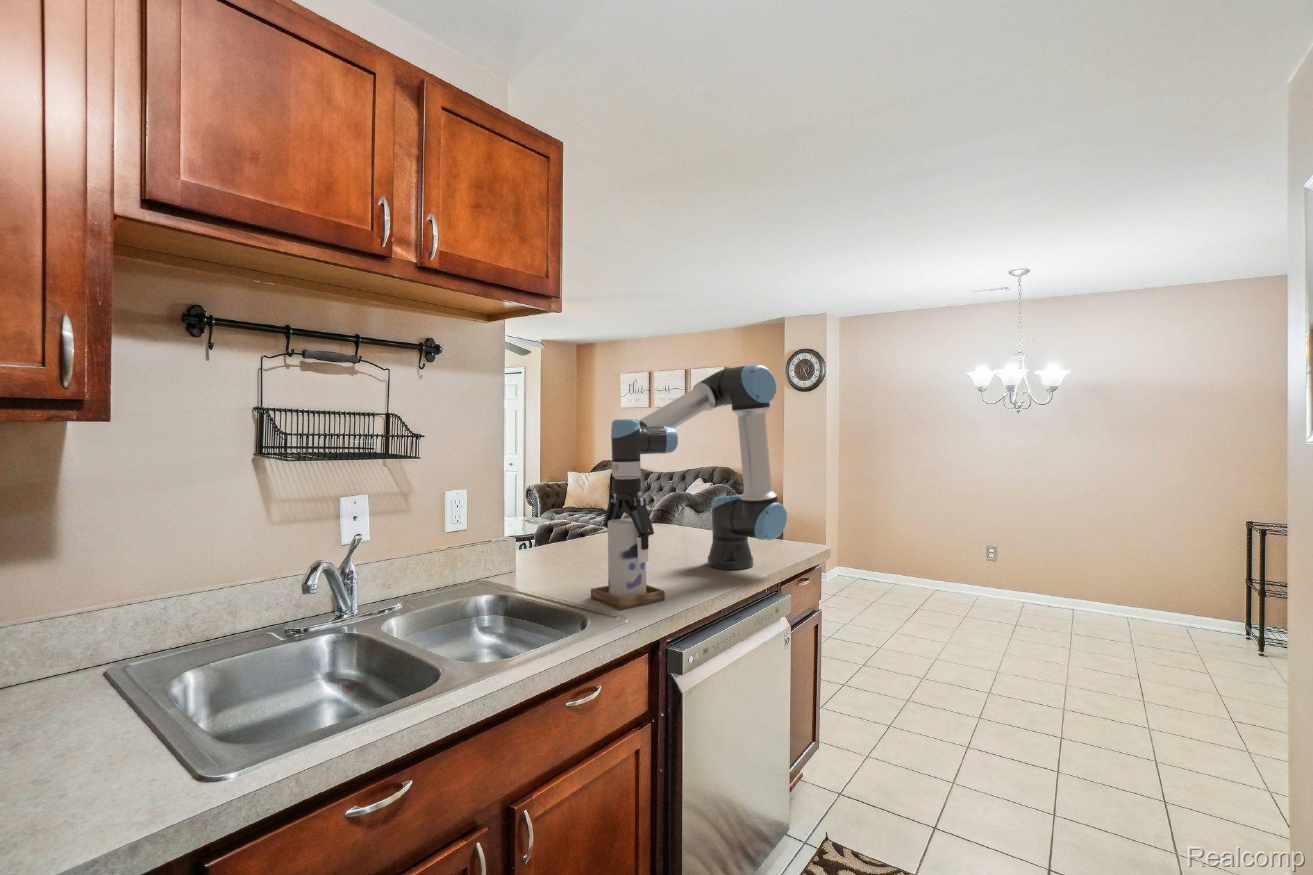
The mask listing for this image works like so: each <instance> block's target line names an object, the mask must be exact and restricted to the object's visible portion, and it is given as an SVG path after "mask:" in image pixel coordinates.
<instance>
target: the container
mask: <svg viewBox="0 0 1313 875" xmlns="http://www.w3.org/2000/svg"><path fill="white" fill-rule="evenodd" d="M642 532H643V531H642ZM638 535H639V534H638V531H637V529H636V527H635V525H634V523H633V520H632V518H631V517H630V518H621V519H613V520H609V521H608V530H607V558H608V559H607V571H608V574H607V576H608V580H607V582H608V585H607V586H608V594H609V595H612V596H615V597H617V598H620V599H622V598H627V597H632V596H637V595H642V594H646V585H647V562H643V563H638V543H637V536H638Z"/></svg>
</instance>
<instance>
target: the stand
mask: <svg viewBox="0 0 1313 875" xmlns="http://www.w3.org/2000/svg"><path fill="white" fill-rule="evenodd" d="M665 593H666V592H665V590H663V589H660V588H657V587H654V586H651V585H648V584H646V594H642V595H637V596H632V597H627V598H622V599H620V598H617V597H615V596H612V595H609V594H608V585H603V586H597V587H593V588H590V598H591V599H592V600H594V599H595V601H597V602H599V603H602V604H605V605H607V606H609V607H612V608H614V609H617V610H619V611H622V610H626V609H627V610H628V609H631V608H635V607H641V606H644V605H650V604H654V603H659V602H663V601H666V600H665V596H666V594H665Z"/></svg>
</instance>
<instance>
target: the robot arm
mask: <svg viewBox="0 0 1313 875" xmlns="http://www.w3.org/2000/svg"><path fill="white" fill-rule="evenodd" d="M776 394H777V381H776V378H775V376H774V374H773V372H772V371H771V370H769V368H767V367H766V366H764V365H762V364H748V365H742V366H735V367H728V368H724V369H721V370H719V371H716V372H714V373H713V374H711V375H709V376H707V377H706V378H704V379H703V380H701V381H699V382H696V383H695V385H693V388H692V389H691V390H690V391H688V392H686V393H684V394H683V395H680V396H679V397H677V398H676V399H674V400H672V401H670V402H669V403H667V404H665V405H663V406H662V407H660V408H658V409H656V410H655V411H652V412H651V413H650V414H648V415H645V416H644V417H642V418H641V419H637V418H635V419H634V418H633V419H632V418H627V419H626V418H625V419H624V418H623V419H621V418H619V419H614V420H613V421H612V423H611V427H610V428H611V430H610V433H611V435H610V438H611V439H610V441H611V443H610V444H611V463H612V464H611V465H612V466H611V469H612V471H611V472H612V473H611V474H612V475H611V476H612V477H613V479H612V480H611V481H612V486H611V488H612V492H613V494H609V495H608V504H607V509H606V513H605V515H604V520H603V527H604V528H606V530H607V531H608V521H609V520H613V519H623V516H624V514H627V515H628V516H630V518H632V520H633V523H634V525H635V527H636V529H637V531H638V534H639V535H638V536H637V543H638V563H643V562H646V563H647V562H649V537H650V536H652V535H654V534H655V531H654V527H653V524H652V520H651V517H650V513H649V510H648V508H647V499H646V497H645V496H642V497H638V493H640V492H641V491H642V479H641V478H640V477H641V476H642V475H641V474H642V471H641V470H642V469H641V455H653V454H654V455H656V454H664V455H665V454H668V453H669V454H671V453H673V452H675V450H676V449H677V447H678V445H679V434H678V432H677V431H676V428H677V427H679V426H681V425H682V424H683V423H685V422H688V421H689V420H690V419H692V418H694V417H696V416H697V415H699V414H701V413H702V412H704V411H706V412H707V411H708V412H709V411H712V410H713V409H715V408H718V407H720V406H721V407H722V406H728V405H729V406H730V405H731V411H732V412H733V413H734V414H735V415H736V416H737V422H738V423H737V424H738V433H739V434H738V435H739V436H738V437H739V445H740V446H739V447H740V457H741V458H740V459H741V469H742V470H741V472H742V481H743V482H742V483H743V493H742V494H736V495H735V494H734V495H726V496H725V495H724V496H716V497H714V498H713V499H712V505H711V506H712V507H711V522H712V523H711V524H712V526H711V527H712V528H711V529H712V532H711V533H712V543H711V544H710V545H711V546H710V550H709V555H707V566H708V567H710V568H715V569H719V570H721V569H722V570H745V569H749V568H752V567H753V566H754V557H753V556H752V551H751V548H750V545H749V540H748V538H753V539H758V540H759V541H760V540H761V541H765V540H766V541H772V540H776V539H778V538H779V537H780V536H781V535H782V534H783V531H784V530H785V529H786V526H787V522H788V512H787V509H786V507H784V505H783V504H781V503H779V502H778V501H779V499H778V494H777V493H776V492H775V491H774V490H773V488H772V487H773V486H772V478H771V477H772V475H771V474H772V473H771V463H770V452H769V441H768V440H769V439H768V430H767V429H768V427H767V418H766V417H767V416H766V415H767V414H766V413H767V412H768V410H769V409H771V405H770V404H771V403H770V402H771V401H772V400H774V398H775V395H776ZM642 531H643V532H642Z"/></svg>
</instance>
